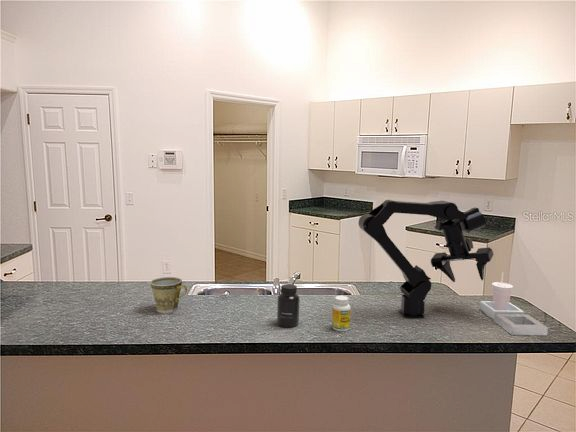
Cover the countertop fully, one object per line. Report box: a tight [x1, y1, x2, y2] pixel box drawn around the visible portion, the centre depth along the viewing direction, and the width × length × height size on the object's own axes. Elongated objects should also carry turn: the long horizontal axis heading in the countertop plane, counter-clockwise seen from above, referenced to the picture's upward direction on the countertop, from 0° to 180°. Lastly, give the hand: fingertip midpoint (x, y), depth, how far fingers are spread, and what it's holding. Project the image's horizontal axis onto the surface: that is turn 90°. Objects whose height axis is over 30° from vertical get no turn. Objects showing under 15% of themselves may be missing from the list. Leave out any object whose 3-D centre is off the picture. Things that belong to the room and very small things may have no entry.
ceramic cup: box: [150, 276, 188, 315], centre depth 136 cm, size 13×10×10 cm
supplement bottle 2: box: [331, 295, 352, 332], centre depth 123 cm, size 5×5×10 cm
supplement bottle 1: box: [276, 283, 301, 329], centre depth 126 cm, size 7×7×12 cm
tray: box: [479, 300, 525, 321], centre depth 137 cm, size 10×10×3 cm
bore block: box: [493, 313, 549, 336], centre depth 126 cm, size 10×10×2 cm
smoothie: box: [491, 271, 514, 311], centre depth 136 cm, size 6×6×14 cm
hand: (468, 280), depth 136 cm, fingers open, 9 cm apart
